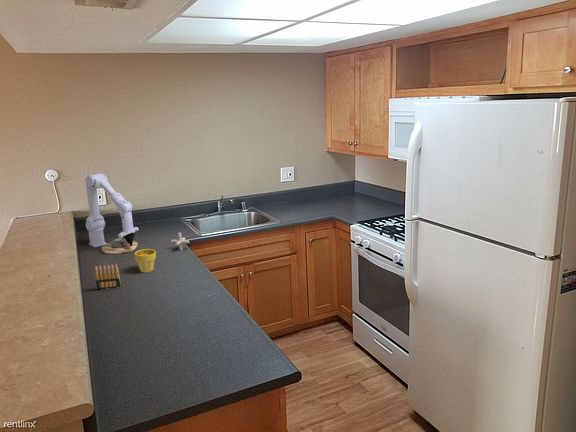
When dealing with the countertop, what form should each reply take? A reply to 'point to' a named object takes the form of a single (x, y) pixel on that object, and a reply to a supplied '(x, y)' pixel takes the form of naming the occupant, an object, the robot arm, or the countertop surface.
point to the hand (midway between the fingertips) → (130, 246)
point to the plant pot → (145, 259)
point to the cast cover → (118, 243)
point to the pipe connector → (180, 241)
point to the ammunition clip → (107, 277)
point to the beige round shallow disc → (128, 248)
